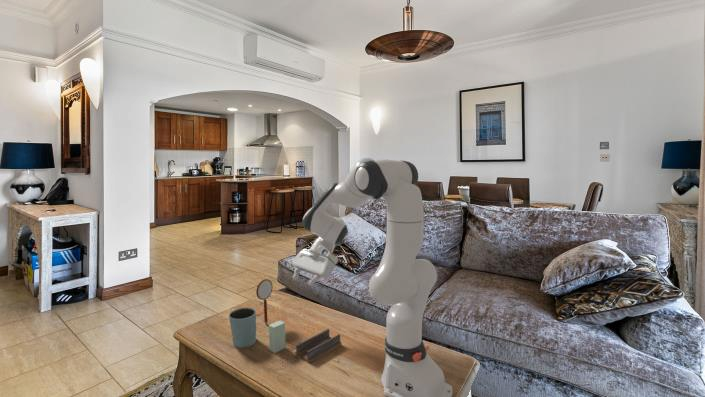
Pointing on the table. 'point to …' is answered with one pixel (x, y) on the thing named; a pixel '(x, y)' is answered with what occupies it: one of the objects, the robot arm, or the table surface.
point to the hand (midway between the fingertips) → (301, 281)
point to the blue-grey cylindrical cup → (243, 327)
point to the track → (317, 346)
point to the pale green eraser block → (277, 336)
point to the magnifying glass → (264, 294)
